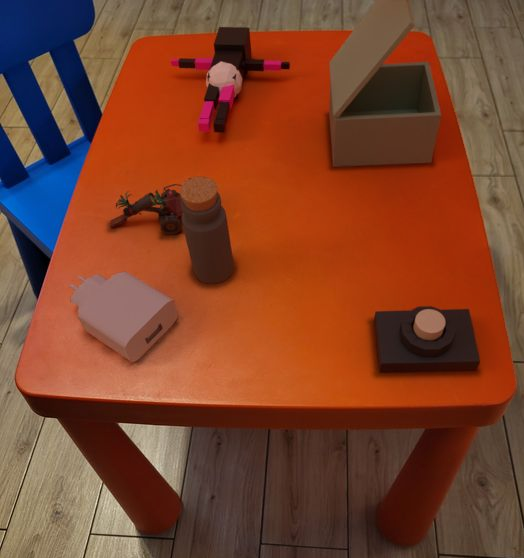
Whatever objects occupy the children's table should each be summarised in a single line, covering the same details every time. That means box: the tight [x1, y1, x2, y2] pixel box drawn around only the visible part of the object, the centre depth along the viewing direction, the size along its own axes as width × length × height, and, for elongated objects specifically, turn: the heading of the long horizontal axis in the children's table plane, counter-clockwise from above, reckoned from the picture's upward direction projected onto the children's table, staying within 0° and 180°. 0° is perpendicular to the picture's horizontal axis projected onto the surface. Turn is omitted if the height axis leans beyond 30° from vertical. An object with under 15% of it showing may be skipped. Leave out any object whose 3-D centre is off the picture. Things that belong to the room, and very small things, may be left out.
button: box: [413, 309, 445, 341], centre depth 75 cm, size 4×4×2 cm
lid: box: [328, 0, 416, 118], centre depth 88 cm, size 16×14×1 cm
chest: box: [328, 61, 442, 168], centre depth 98 cm, size 16×14×9 cm
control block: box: [373, 305, 481, 373], centre depth 77 cm, size 12×8×4 cm, turn 89°
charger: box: [68, 271, 179, 363], centre depth 82 cm, size 5×9×15 cm
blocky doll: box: [170, 26, 291, 134], centre depth 107 cm, size 22×25×6 cm
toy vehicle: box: [109, 177, 192, 236], centre depth 91 cm, size 7×15×8 cm, turn 94°
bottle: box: [179, 176, 235, 285], centre depth 81 cm, size 6×6×15 cm
